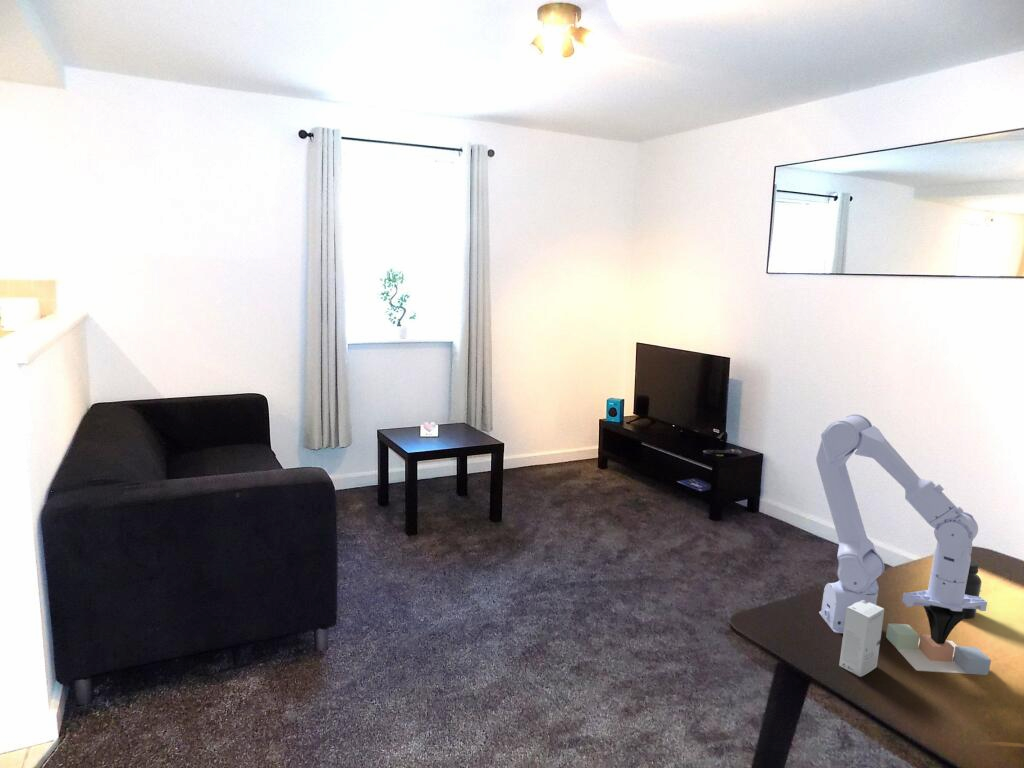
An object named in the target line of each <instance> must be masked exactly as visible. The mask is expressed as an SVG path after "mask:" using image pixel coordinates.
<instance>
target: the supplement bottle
mask: <svg viewBox="0 0 1024 768" xmlns="http://www.w3.org/2000/svg"><path fill="white" fill-rule="evenodd" d="M979 565H980V564H979V563H978V562H977V561H975V560H973V559H971V561H970V567H969V572H968V578H967V583H966V589H965V595H970V596H977V597H980V594H981V587H982V579H981V577H980V576H979V575H978V573H979V567H980V566H979ZM977 610H978V609H969V608H963V609H962V611H961V612H963V613H964V619H965V620H969V619H974V618H975V616H976V614H977ZM964 619H963V620H964Z"/></svg>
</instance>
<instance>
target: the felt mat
mask: <svg viewBox="0 0 1024 768" xmlns="http://www.w3.org/2000/svg"><path fill="white" fill-rule="evenodd" d="M885 637H886V636H885ZM886 639H887V640H888V638H887V637H886ZM946 640H947V639H946ZM947 641H948V642H949V643H950V644H951V645H952V646H953V647H954V651H955V646H958V645H957V644H956V643H955V642H954V641H953V640H947ZM919 642H920V638H919ZM894 648H895V649H897V651H898V652H899V653H900V654H901V655H902V657H904V659H905V660H906V661H907V662H908V663H909V665H910V666H912V667H913V669H915V671H917V672H918V671H919V672H932V673H933V672H934V673H948V674H949V673H950V674H951V673H952V674H967V675H969V673H965V672H964V671H963V670H962V669H961V668H960V667H959V666H958V665H957V664H956V663H955V662H954V661H953V658H952V662H948V661H931V660H929V659H928V658H927V657H926V656H925V654H924V653H923V652H922V651H921V650H920V649H919V643H918V649H917V650H916V649H899V648H896V647H895V646H894ZM953 657H954V652H953ZM981 675H983V676H984V675H985V676H987V675H986V674H981Z"/></svg>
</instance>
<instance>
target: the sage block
mask: <svg viewBox="0 0 1024 768" xmlns="http://www.w3.org/2000/svg"><path fill="white" fill-rule="evenodd" d="M885 635H886V636H885V637H887V638H888V639H887V638H886V639H887V640H888V641H889V642H890V643H891V644H892V645H893V646H894V648H895V647H896V648H899V649H916V650H917V649H918V643H919V639H920V637H921V634H919V633H918V632H917V631H916V630H914V628H913V627H912V626H911V625H910V624H906V623H905V624H904V623H890V622H889V623H887V628H886V634H885ZM896 648H895V649H896Z"/></svg>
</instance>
